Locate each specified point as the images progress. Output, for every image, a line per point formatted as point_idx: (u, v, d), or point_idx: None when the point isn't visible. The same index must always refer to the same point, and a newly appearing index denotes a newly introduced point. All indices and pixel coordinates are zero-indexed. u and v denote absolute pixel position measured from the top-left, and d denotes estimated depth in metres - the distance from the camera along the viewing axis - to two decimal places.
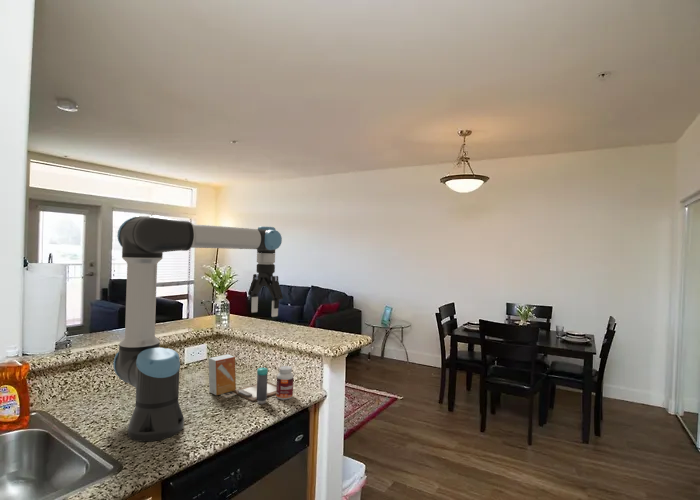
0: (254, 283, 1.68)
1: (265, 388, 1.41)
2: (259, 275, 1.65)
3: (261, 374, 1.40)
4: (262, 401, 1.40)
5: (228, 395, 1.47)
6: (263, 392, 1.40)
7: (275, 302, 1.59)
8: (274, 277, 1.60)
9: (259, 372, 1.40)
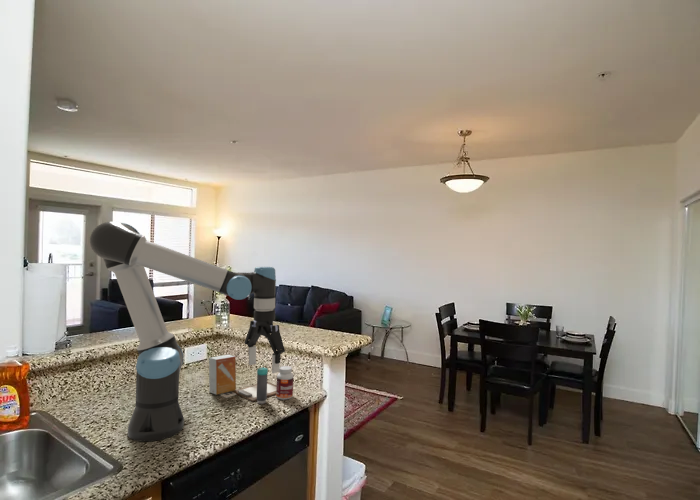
0: (251, 331, 1.46)
1: (265, 388, 1.41)
2: (257, 323, 1.43)
3: (261, 374, 1.40)
4: (262, 401, 1.40)
5: (228, 395, 1.47)
6: (263, 392, 1.40)
7: (276, 356, 1.36)
8: (274, 327, 1.37)
9: (259, 372, 1.40)
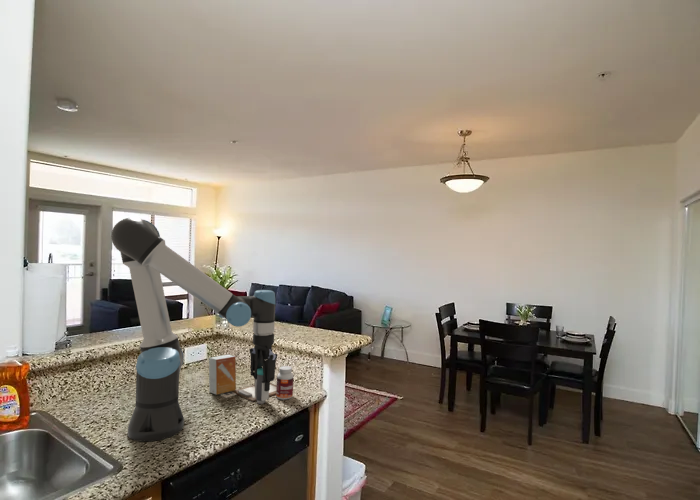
0: (253, 359, 1.44)
1: None
2: (255, 346, 1.43)
3: (261, 374, 1.40)
4: (262, 401, 1.41)
5: (228, 395, 1.47)
6: None
7: (265, 384, 1.39)
8: (272, 357, 1.37)
9: (259, 372, 1.40)
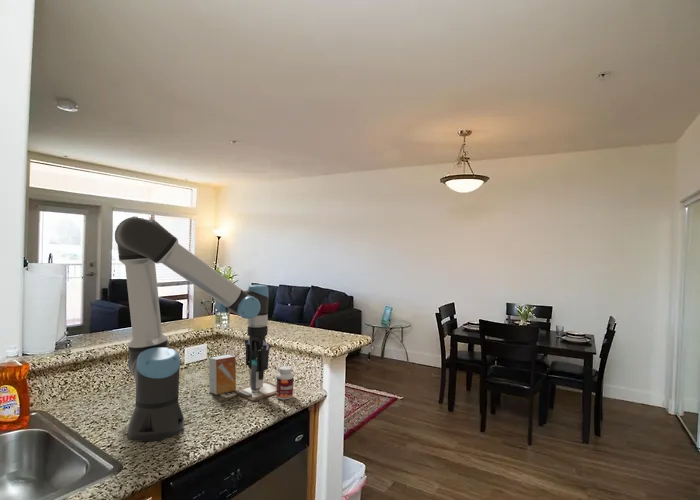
0: (248, 350, 1.53)
1: None
2: (250, 337, 1.52)
3: (256, 365, 1.48)
4: (257, 390, 1.49)
5: (228, 395, 1.47)
6: None
7: (259, 373, 1.48)
8: (266, 347, 1.46)
9: (254, 363, 1.48)
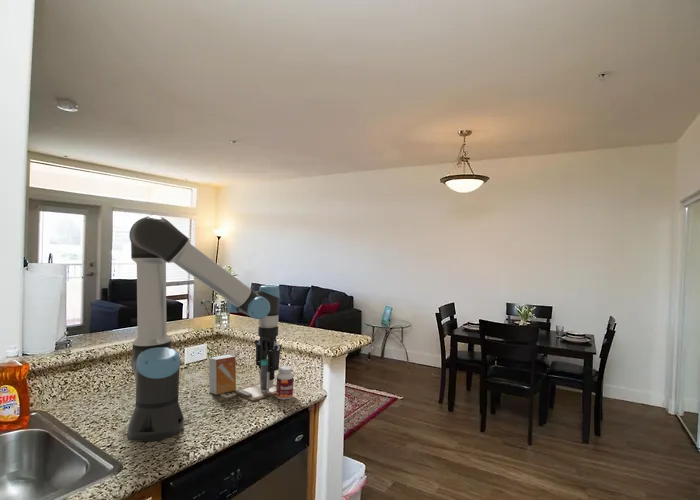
0: (259, 350, 1.54)
1: None
2: (260, 337, 1.52)
3: (266, 365, 1.49)
4: (266, 390, 1.49)
5: (228, 395, 1.47)
6: None
7: (270, 373, 1.49)
8: (277, 347, 1.47)
9: (264, 363, 1.49)
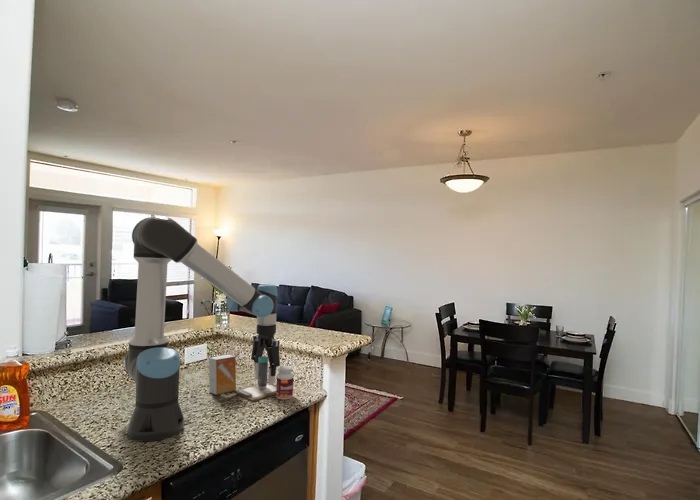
0: (256, 346, 1.58)
1: (266, 374, 1.54)
2: (259, 335, 1.56)
3: (264, 362, 1.53)
4: (264, 386, 1.53)
5: (228, 395, 1.47)
6: (265, 378, 1.53)
7: (272, 369, 1.51)
8: (275, 343, 1.50)
9: (261, 360, 1.52)
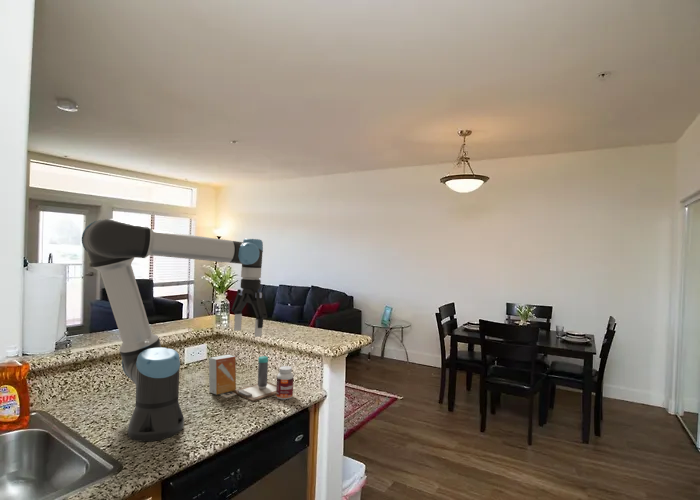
0: (238, 299, 1.56)
1: (266, 374, 1.54)
2: (243, 291, 1.53)
3: (264, 362, 1.53)
4: (264, 386, 1.53)
5: (228, 395, 1.47)
6: (265, 378, 1.53)
7: (259, 321, 1.47)
8: (259, 294, 1.47)
9: (261, 360, 1.52)
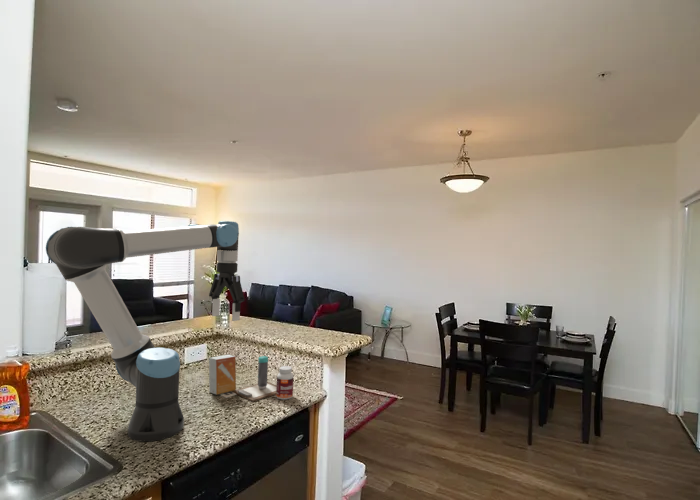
0: (215, 284, 1.53)
1: (266, 374, 1.54)
2: (220, 275, 1.50)
3: (264, 362, 1.53)
4: (264, 386, 1.53)
5: (228, 395, 1.47)
6: (265, 378, 1.53)
7: (236, 305, 1.43)
8: (235, 277, 1.44)
9: (261, 360, 1.53)
